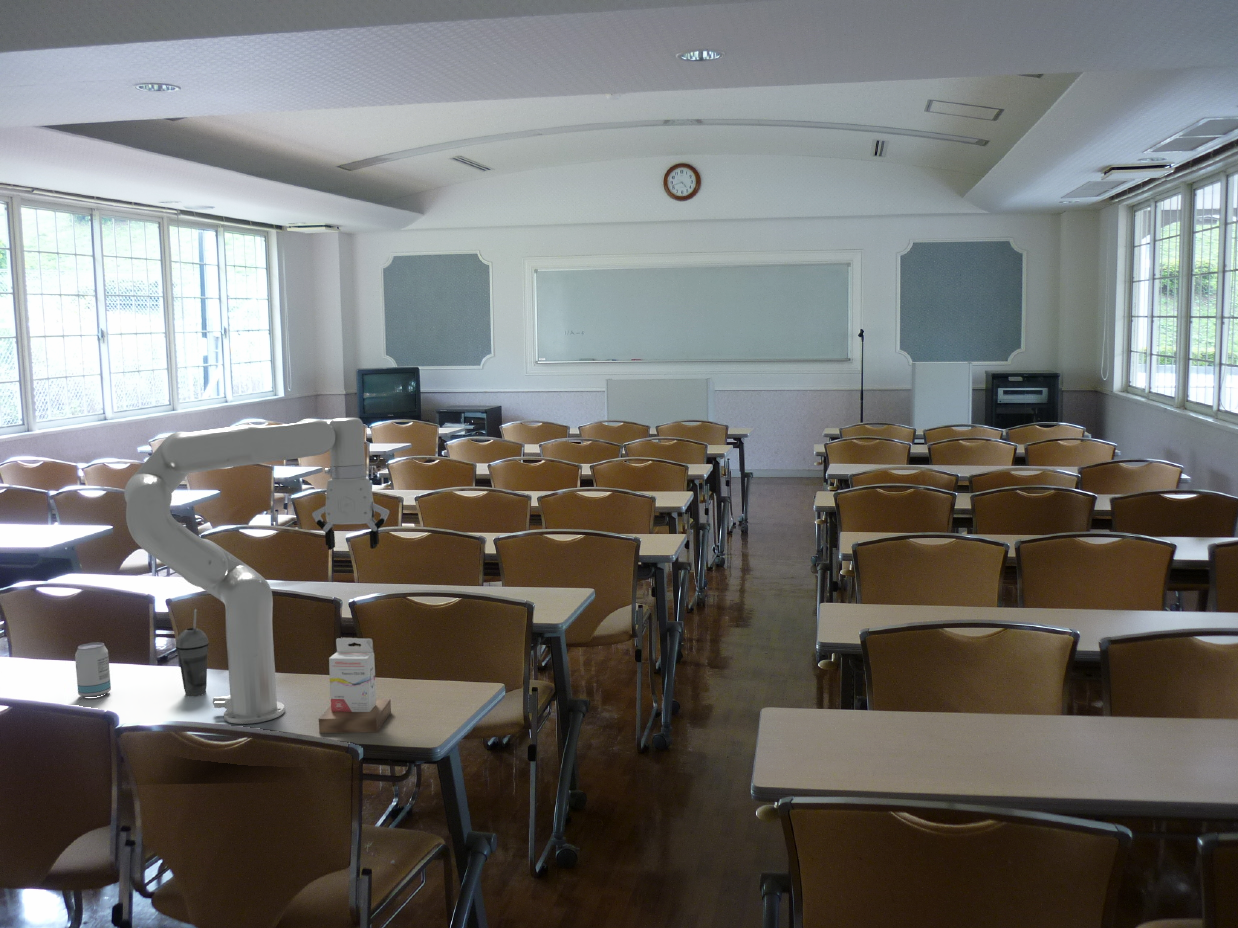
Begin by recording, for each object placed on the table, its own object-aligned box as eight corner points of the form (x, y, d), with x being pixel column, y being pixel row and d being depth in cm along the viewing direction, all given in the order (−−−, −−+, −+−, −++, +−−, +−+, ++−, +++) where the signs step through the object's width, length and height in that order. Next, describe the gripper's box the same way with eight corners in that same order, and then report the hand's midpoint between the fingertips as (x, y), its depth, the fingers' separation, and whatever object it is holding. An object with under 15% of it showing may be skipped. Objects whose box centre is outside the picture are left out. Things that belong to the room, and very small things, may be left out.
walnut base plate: (319, 732, 218) (318, 718, 218) (336, 713, 230) (335, 699, 230) (377, 731, 218) (376, 717, 217) (391, 712, 229) (390, 698, 229)
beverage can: (85, 691, 251) (81, 642, 250) (115, 690, 251) (111, 640, 250) (73, 700, 244) (69, 650, 243) (104, 699, 245) (100, 648, 243)
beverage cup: (178, 691, 249) (172, 608, 247) (211, 686, 252) (205, 604, 250) (179, 700, 242) (173, 614, 240) (213, 695, 245) (207, 610, 243)
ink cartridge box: (330, 712, 221) (326, 643, 220) (338, 704, 226) (334, 637, 225) (370, 712, 221) (366, 643, 219) (377, 704, 226) (374, 637, 224)
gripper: (304, 475, 233) (309, 552, 235) (382, 473, 232) (386, 550, 234) (315, 472, 241) (320, 546, 242) (390, 470, 240) (394, 544, 242)
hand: (352, 548), depth 238 cm, fingers open, 9 cm apart
